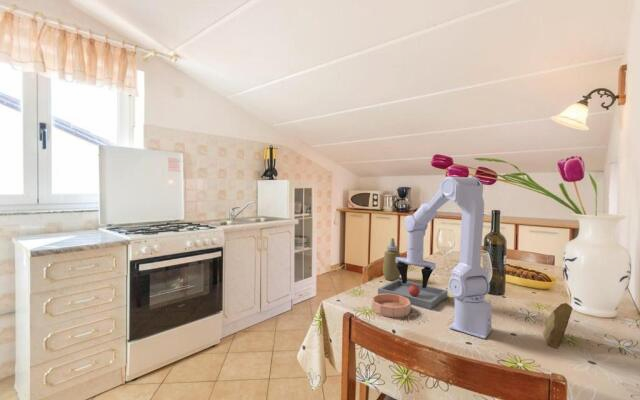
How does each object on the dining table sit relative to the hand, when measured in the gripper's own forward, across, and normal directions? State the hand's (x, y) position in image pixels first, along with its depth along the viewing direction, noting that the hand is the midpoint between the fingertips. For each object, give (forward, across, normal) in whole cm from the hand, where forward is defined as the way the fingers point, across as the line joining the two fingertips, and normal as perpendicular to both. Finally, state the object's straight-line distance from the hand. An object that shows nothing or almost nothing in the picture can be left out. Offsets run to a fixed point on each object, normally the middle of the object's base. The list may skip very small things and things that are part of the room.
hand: (414, 285), depth 112 cm
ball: (+2, 0, 0) cm, 2 cm away
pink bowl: (+5, +1, +16) cm, 17 cm away
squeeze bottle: (+5, +17, -15) cm, 23 cm away
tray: (+5, +1, -1) cm, 5 cm away
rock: (+5, -41, +4) cm, 41 cm away
